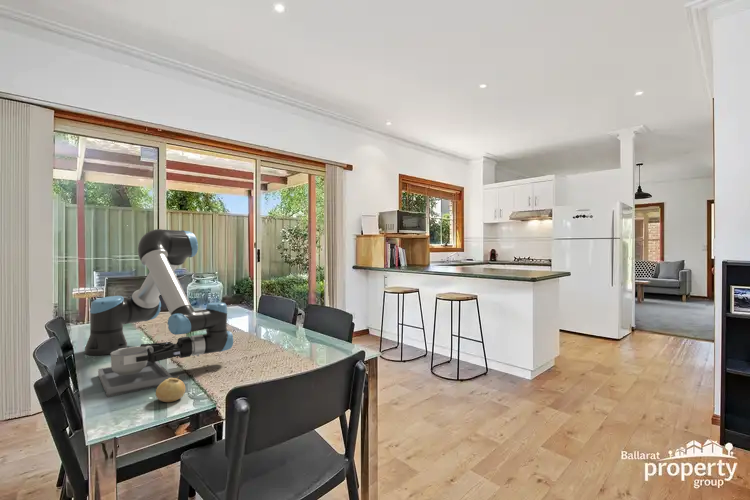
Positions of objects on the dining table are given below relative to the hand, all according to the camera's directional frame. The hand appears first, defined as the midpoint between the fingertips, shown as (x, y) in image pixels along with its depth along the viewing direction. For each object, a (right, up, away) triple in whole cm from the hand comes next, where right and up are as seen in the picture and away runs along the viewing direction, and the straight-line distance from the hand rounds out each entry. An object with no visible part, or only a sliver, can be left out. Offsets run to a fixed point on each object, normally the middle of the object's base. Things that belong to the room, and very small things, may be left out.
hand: (120, 356), depth 127 cm
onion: (+24, -10, -13) cm, 29 cm away
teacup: (+3, -6, +3) cm, 7 cm away
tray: (+3, -9, +3) cm, 10 cm away
